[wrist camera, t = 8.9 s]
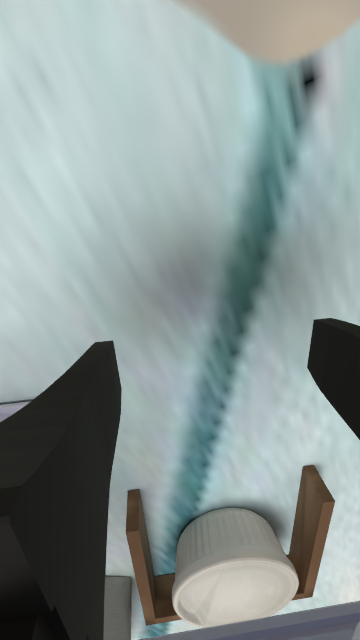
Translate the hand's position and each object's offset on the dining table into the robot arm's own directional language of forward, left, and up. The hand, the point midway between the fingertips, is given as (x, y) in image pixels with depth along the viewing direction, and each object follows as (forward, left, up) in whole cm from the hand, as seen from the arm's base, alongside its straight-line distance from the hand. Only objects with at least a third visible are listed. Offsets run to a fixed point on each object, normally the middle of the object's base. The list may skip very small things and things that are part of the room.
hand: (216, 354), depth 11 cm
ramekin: (+3, -28, -10) cm, 29 cm away
